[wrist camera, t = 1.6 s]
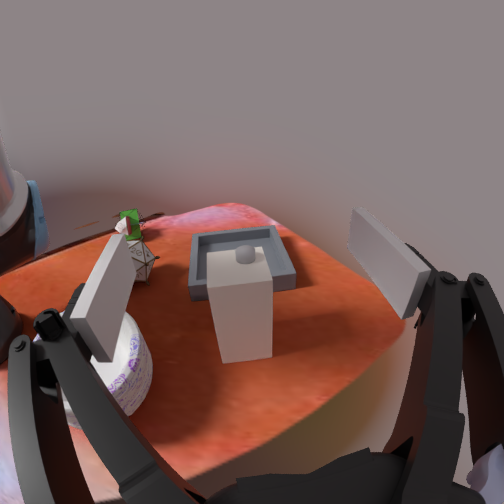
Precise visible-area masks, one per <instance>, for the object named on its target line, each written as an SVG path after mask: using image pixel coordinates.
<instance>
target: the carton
mask: <svg viewBox="0 0 504 504" xmlns="http://www.w3.org/2000/svg"><path fill="white" fill-rule="evenodd" d="M207 291H208V296H209V301H210V306H211V311H212V316H213V321H214V326H215V331H216V336H217V340H218V345H219V350H220V354H221V359H222V363H223V364H224V363H233V362H242V361H250V360H257V359H264V358H271V357H272V330H273V279H272V276H271V273H270V270H269V267H268V264H267V261H266V258H265V255H264V252H263V249H262V247H252V246H249V245H243V246H239V247H238V248H236V249H235V250H226V251H217V252H208V253H207Z"/></svg>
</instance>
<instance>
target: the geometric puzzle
mask: <svg viewBox="0 0 504 504" xmlns="http://www.w3.org/2000/svg"><path fill="white" fill-rule="evenodd" d="M119 214H120V216H121V220H120V221H119V222H118V224H117V225H116V227H115V229H116V231H118V232H119V233H121V234H122V233H124V234H125V238H126V241H127V240H132V239H137V238H141V237H142V236H141V232H140V225H139V222H140V221H139V220H138V215H137V208H136V209H132V210H127V211H122V212H120V213H119ZM118 217H119V216H118ZM141 220H142V219H141ZM143 221H144V220H143ZM141 223H142V226H143V223H144V222H141ZM145 223H146V221H145ZM144 227H145V226H144ZM142 234H143V233H142Z"/></svg>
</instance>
